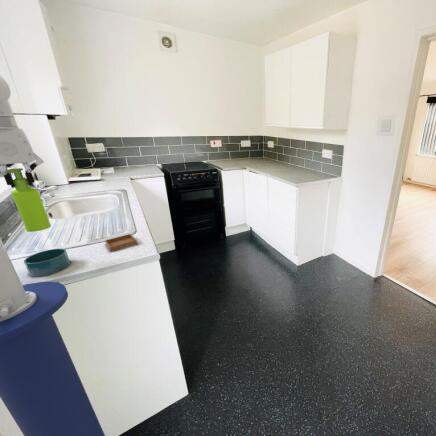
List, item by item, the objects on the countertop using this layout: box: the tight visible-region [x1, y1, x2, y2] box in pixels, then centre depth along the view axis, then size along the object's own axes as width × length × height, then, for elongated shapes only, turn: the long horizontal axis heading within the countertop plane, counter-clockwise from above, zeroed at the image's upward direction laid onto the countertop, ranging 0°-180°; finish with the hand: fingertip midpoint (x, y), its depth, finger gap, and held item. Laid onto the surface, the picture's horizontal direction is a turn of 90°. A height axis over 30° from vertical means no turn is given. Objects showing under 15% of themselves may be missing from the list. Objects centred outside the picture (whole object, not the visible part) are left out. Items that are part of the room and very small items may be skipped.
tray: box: [104, 233, 138, 253], centre depth 103 cm, size 10×10×2 cm
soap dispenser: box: [5, 167, 52, 233], centre depth 78 cm, size 6×7×20 cm
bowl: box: [23, 248, 71, 278], centre depth 85 cm, size 11×11×5 cm
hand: (22, 185), depth 77 cm, fingers closed on soap dispenser, 3 cm apart
